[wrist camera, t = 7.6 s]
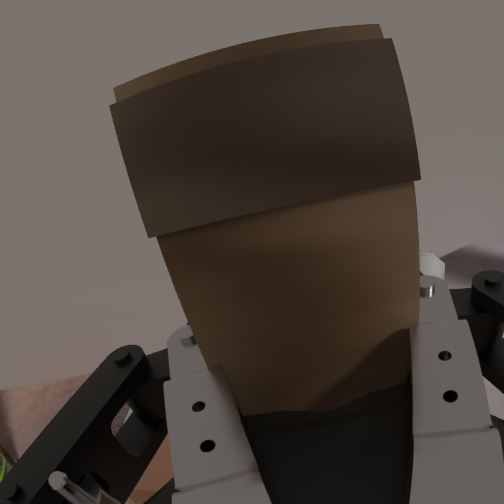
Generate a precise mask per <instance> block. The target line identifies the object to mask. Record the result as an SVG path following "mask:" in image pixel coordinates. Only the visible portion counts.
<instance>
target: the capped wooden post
mask: <svg viewBox="0 0 504 504" xmlns="http://www.w3.org/2000/svg"><path fill="white" fill-rule="evenodd" d="M113 89H114V94H115V98H116V103H114V104H112V105H110V111H111V115H112V118H113V123H114V126H115V130H116V134H117V137H118V141H119V145H120V149H121V152H122V156H123V159H124V163H125V166H126V169H127V173H128V176H129V179H130V183H131V186H132V189H133V192H134V196H135V199H136V202H137V205H138V208H139V211H140V214H141V217H142V220H143V223H144V226H145V229H146V232H147V235H148V237H149V238H151V237H154V236H156V237H157V240H158V243H159V246H160V249H161V252H162V255H163V257H164V260H165V262H166V266H167V268H168V271H169V274H170V276H171V279H172V282H173V284H174V287H175V290H176V292H177V295H178V298H179V300H180V303H181V305H182V308H183V310H184V313H185V315H186V318H187V320H188V323H189V325H190V328H191V330H192V333H193V335H194V337H195V340H196V342H197V344H198V347H199V349H200V351H201V354H202V356H203V358H204V361H205V363H206V365H207V368H209V367H212V366H215V365H218V364H222V366H223V367H224V370H225V372H226V374H227V377H228V379H229V381H230V384H231V386H232V389H233V391H234V394H235V396H236V399H237V401H238V403H239V405H240V408H241V410H242V412H243V414H244V416H245V415H254V414H262V413H269V412H276V411H283V410H284V411H330V410H332V409H335V408H337V407H339V406H342V405H344V404H346V403H348V402H351V401H353V400H355V399H357V398H359V397H361V396H364V395H366V394H368V393H370V392H374V391H378V390H382V389H385V388H389V387H392V386H396V385H399V384H403V383H404V378H405V367H406V351H407V333H408V324H419V310H420V258H419V237H418V236H419V235H418V221H417V207H416V197H415V188H414V181H417V180H421V175H420V167H419V159H418V152H417V146H416V140H415V134H414V128H413V123H412V117H411V112H410V107H409V103H408V98H407V94H406V89H405V85H404V81H403V77H402V73H401V69H400V65H399V62H398V58H397V55H396V51H395V47H394V44H393V41H392V38H388V39H387V38H386V39H384V37H383V34H382V31H381V28H380V25H379V24H367V25H354V26H342V27H332V28H323V29H316V30H309V31H302V32H296V33H290V34H285V35H279V36H274V37H269V38H264V39H259V40H255V41H251V42H246V43H242V44H238V45H235V46H230V47H227V48H223V49H220V50H216V51H212V52H209V53H205V54H202V55H199V56H196V57H193V58H190V59H186V60H184V61H181V62H178V63H175V64H172V65H169V66H166V67H163V68H161V69H158V70H155V71H153V72H151V73H148V74H145V75H143V76H141V77H138V78H135V79H133V80H131V81H128V82H126V83H124V84H121V85H119V86H117V87H115V88H113Z"/></svg>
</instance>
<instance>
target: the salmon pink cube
mask: <svg viewBox="0 0 504 504" xmlns="http://www.w3.org/2000/svg"><path fill="white" fill-rule="evenodd" d="M173 477H174V473H173V467H172V460H171V452H170V445H169V437H168V434H167V436H166V437H165V439H164V441H163V442H162V444H161V446H160V447H159V449H158V450H157V452H156V454H155V455H154V457H153V459H152V460H151V462H150V464H149V465H148V467H147V469H146V470H145V472H144V473H143V475H142V477H141V478H140V480H139V482H138V483H137V485H136V487H135V488H134V490H133V491H132V493H131V495H130V496H129V499H131V500H132V501H133V502H134V503H135V504H143V503H144V502H146V501H147V500H148V499H149V498H150V497H151V496H153V495H154V494H155V493H156V492H157V491H158V490H159V489H161V488H162V487H163V486H164V485H165V484H166V483H167V482H168V481H169V480H171V479H172V478H173Z"/></svg>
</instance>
